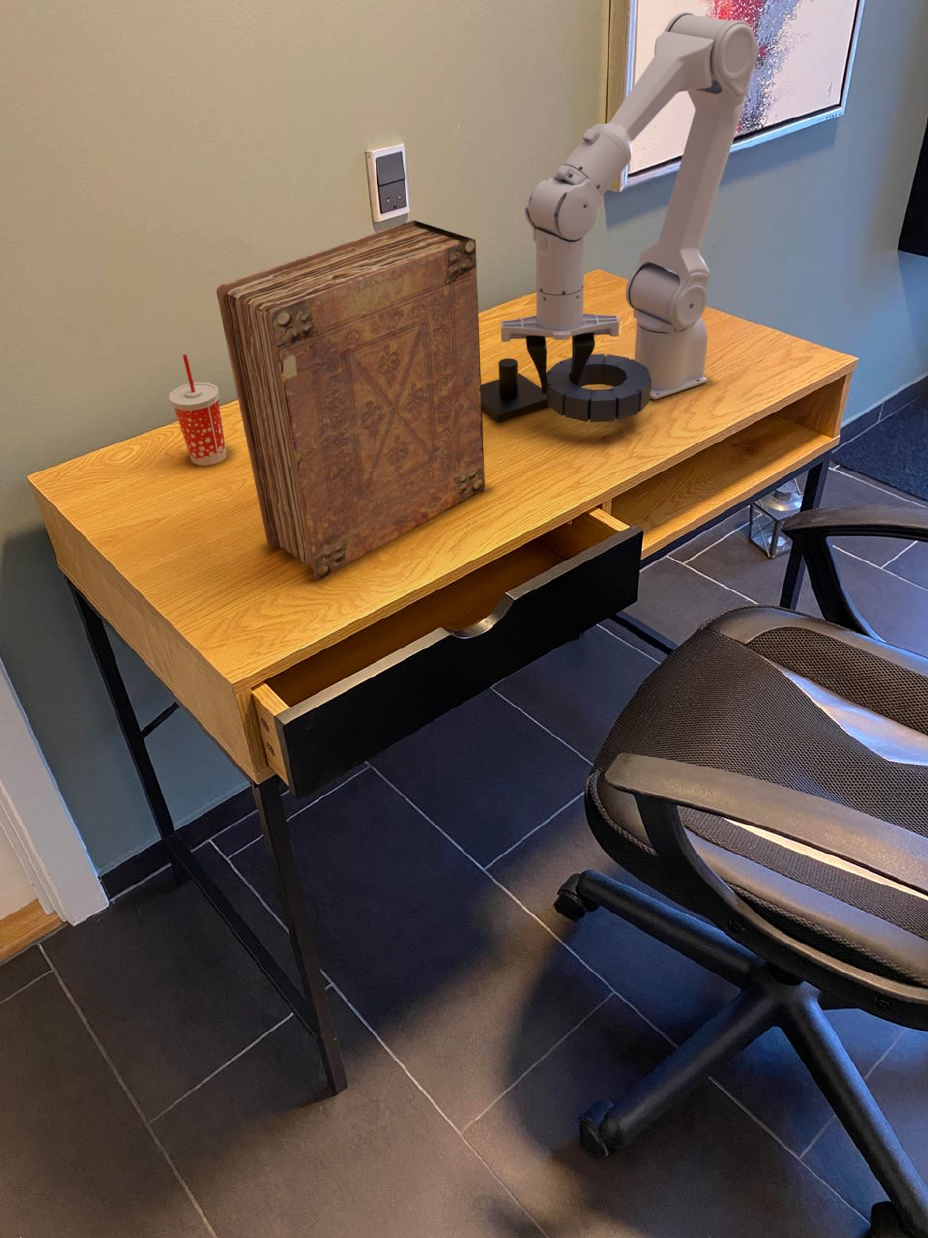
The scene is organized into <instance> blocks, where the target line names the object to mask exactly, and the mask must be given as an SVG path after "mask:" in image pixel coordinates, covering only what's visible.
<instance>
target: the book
mask: <svg viewBox="0 0 928 1238" xmlns="http://www.w3.org/2000/svg"><path fill="white" fill-rule="evenodd" d="M476 241H477V240H476V239H474V238H471V237H470V236H465V235H462V234H459V233H457V232H453V231H450V230H446V229H444V228H440V227H437V226H434V225H430V224H427V223H425V222H421V221H418V220H410V221H408V222H405V223H402V224H399V225H396V226H394V227H393V226H392V227H390V228H386V229H383V230H381V231H378V232H375V233H372V234H369V235H366V236H363V237H360V238H357V239H354V240H351V241H348V242H345V243H341V244H339V245H337V246H333V247H331V248H327V249H325V250H321V251H319V252H316V253H312V254H310V255H306V256H303V257H301V258H298V259H295V260H291V261H289V262H288V261H287V262H285V263H283V264H279V265H277V266H273V267H271V268H268V269H267V268H266V269H265V270H261V271H259V272H255V273H253V274H250V275H247V276H244V277H241V278H237V279H235V280H232V281H229V282H226V283H223V284H220V285H219V286H218V287H217V288H216V291H215V293H216V296H217V301H218V305H219V306H218V307H219V311H220V316H221V321H222V326H223V331H224V336H225V341H226V344H227V345H226V346H227V351H228V356H229V362H230V366H231V370H232V375H233V381H234V385H235V386H234V387H235V391H236V396H237V401H238V405H239V410H240V415H241V421H242V426H243V430H244V431H243V432H244V435H245V440H246V445H247V450H248V455H249V460H250V464H251V470H252V475H253V480H254V484H255V490H256V495H257V500H258V504H259V509H260V514H261V520H262V524H263V530H264V535H265V540H266V544H267V546H268V548H270V549H274V548H276V547H278V546H279V547H280V548H282V549H283V550H284V551H286V552H288V553H289V554H291V555H292V557H295V558H296V559H297V560H299V561H300V562H301V563H303V564H304V565H306V566H308V567H309V568H310V569H312V570H313V571H312V572H313V576H314V578H316V579H318V580H322V579H324V578H326V577H328V576H330V575H331V574H333V573H336V572H337V571H339V570H340V569H342V568H344V567H346V566H348V565H350V564H352V563H353V562H355V561H357V560H359V559H361V558H362V557H365V556H366V555H368V554H370V553H371V552H373V551H376V550H377V549H379V548H381V547H383V546H384V545H386V544H388V543H390V542H392V541H394V540H395V539H397V538H399V537H401V536H403V535H404V534H406V533H409V532H410V531H412V530H413V529H415V528H417V527H419V526H421V525H424V523H427V522H428V521H430V520H432V519H433V518H436V517H438V516H439V515H441V514H443V513H444V512H446V511H448V510H450V509H452V508H453V507H456V506H457V505H459V504H461V503H462V502H464V501H466V500H468V499H470V498H472V497H473V496H475V495H477V494H479V493H481V492H482V491H483V492H484V491H485V488H486V478H485V453H484V451H485V450H484V449H485V448H484V426H483V423H484V422H483V411H482V396H481V384H482V374H481V373H482V372H481V348H480V345H481V343H480V320H479V295H478V269H477V265H478V264H477V243H476Z"/></svg>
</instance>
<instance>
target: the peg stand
mask: <svg viewBox="0 0 928 1238" xmlns="http://www.w3.org/2000/svg"><path fill="white" fill-rule="evenodd" d="M481 396H482V412H483V413H485V414H486V415H487V416H489V417H490V418H492V420H494V421H496V423H498V424H499V423H502V422H504V421H508V420H511V419H514V418H517V417H521V416H523V415H526V414H527V415H528V414H529V413H533V412H535V411H539V410H541V409H544V408H549V405H547V398H546V394H542V389H541V386H539V385H537V383H535V382H534V381H532V380H530V379H529V378H527V377H526V376H524V375H523V374H521V373H520V372H519V362H518V360H517V359H516V358H510V357H509V358H508V357H507V358H502V359H500V360H499V361H498V379H494V380H492V381H488V382H485V383H481Z"/></svg>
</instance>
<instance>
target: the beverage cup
mask: <svg viewBox="0 0 928 1238" xmlns="http://www.w3.org/2000/svg"><path fill="white" fill-rule="evenodd" d="M182 359H183V363H184V366H185V367H184V368H185V371H186V375H187V379H188V383H186V384H183V385H180V386H178V387H176V388H174V389H173V390H172V391H171V392H170V393H169V395H168V396H169V397H168V400H169V402H170V406H171V407H173V408H174V412H175V415H176V418H177V421H178V424H179V428H180V431H181V434H182V436H183V439H184V442H185V445H186V449H187V451H188V455H189V457H190V461H191V462H192V463H193V464H195V465H197V466H213V465H216V464H218V463H220V462H223V461H224V460H225V459H226V457H227V455H228V453H227V446H226V441H225V440H226V439H225V434H224V428H223V422H222V414H221V407H220V402H219V400H220V392H219V391H220V390H219V389H220V388H219V387H218V386H217V385H216V384H213V383H212V382H211V383H210V382H206V381H205V382H202V381H198V382H194V380H193V376H192V371H191V367H190V364H189V359H188V355H187V354H182Z"/></svg>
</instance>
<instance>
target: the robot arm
mask: <svg viewBox="0 0 928 1238" xmlns="http://www.w3.org/2000/svg"><path fill="white" fill-rule="evenodd" d="M759 52H760V46H759V44H758V41H757V39H756V35H755V33H754V30H753V28H752V26H751V25H750V24H749V23H748V22H747V21H745V20H742V19H740V20H739V19H734V20H730V19H723V18H716V17H710V16H703V15H695V14H693V13H692V12H686V11H685V12H680V13H678V14H676V15H675V16H674V17H672V19H670V21H669V22H668V24H667V25H666V27H665V29H664V31H663V32H662V33H660V34H659V35H658V36H657V37H656V39H655V43H654V56H653V58H652V59H651V61H650V62H649V64H648V65H647V67H646V68H645V69H644V71H643V73H642V74H641V75H640V76H639V78H638V79H637V81H636V83H635V84H634V86H633V87H632V89H631V90H630V91H629V93H628V95H627V96H626V97H625V99H624V100H623V102H622V103H621V105H620V106H619V107H618V109H617V111H616V112H615V113H614V115H613V117H612V118H611V119H610V121H609V122H607V123H601V124H600V123H599V124H598V123H597V124H595V125H593V126H592V127H591V128H588V129H587V130H586V131H585V132H584V133H583V135H582V136H581V139H582V140H581V141H580V143H579V144H578V145H577V146H576V147H575V149H574V150H573V152H572V153H571V154H570V155H569V157H568V158H566V160H565V162H563V164H562V165H561V166H560V167H559V168H558V170H556V173H555V174H554V175H553V177H548V178H546V179H547V180H546V179H543V180H542V181H541V182H540V183H538V184H537V185H535V187H534V188H533V190H532V191H531V193H530V195H529V197H528V203H527V206H525V207H524V215H525V218H526V221H527V223H528V224H529V225H530V227H531V228H532V233H533V235H532V236H533V237H532V238H533V241H534V243H535V283H536V284H535V285H536V287H535V289H536V290H535V293H536V297H535V298H536V300H535V301H536V310H535V311H536V313H535V315H531V316H526V317H521V318H516V319H509V320H501V321H500V334H501V335H500V336H501V343H507V342H511V340H519V339H520V340H524V339H525V344H526V350H527V353H528V355H529V357H530V358H531V360H532V363H533V365H534V367H535V369H536V372H537V374H538V377H539V381H540V387H541V389H542V394H547V367H548V365H547V363H548V361H547V360H548V350H547V340H546V339H547V338H552V339H553V340H555V341H566V340H570V339H571V358H572V367H571V382H573V383H574V384H576V385H577V386H578V384H579V380H580V377H581V374H582V371H583V369H584V367H585V364H586V362H587V360H588V359H589V357H590V355H591V354H593V352H594V350H595V346H596V341H595V336H605V335H609V336H610V337H611V338H612V337H613V338H615V337H619V336H620V319H619V315H615V314H614V315H609V314H608V315H606V314H594V313H585V312H584V296H585V295H584V292H585V291H584V290H585V289H584V287H585V285H584V284H585V280H584V279H585V252H586V251H585V250H586V249H585V248H586V235H587V233H589V231H591V230H592V229H593V227H594V226H595V223H596V220H597V216H598V211H599V208H600V207H601V205H602V201H603V197H604V195H605V194H606V193H607V191H608V190H609V189H610V188H611V186H612V185H613V184H614V183H615V181H616V180H617V179H618V178H619V177H620V175H621V174H622V173H623V171H624V170H625V169H626V167H627V166H628V165H629V164H630V162H631V161H632V158H633V157H632V155H633V151H632V147H633V146H632V145H633V143H634V141H636V139H637V138H638V137H639V136H640V134H641V133H643V131H645V130H646V128H647V127H648V126H649V125H650V124H651V123H652V121H653V120H655V118H656V117H657V116H658V115H659V114H660V113H661V112H662V111H663V110H664V108H665V107H667V106H668V104H669V103H670V102H671V101H672V100H673V98H675V96H676V95H677V94H679V93H681V92H686V93H687V94H688V96H689V98H690V100H691V102H692V105H693V106H694V114H693V118H692V121H691V124H690V128H689V132H688V136H687V138H686V142H685V146H684V149H683V153H682V156H681V160H680V163H679V167H678V171H677V174H676V178H675V181H674V184H673V188H672V192H671V195H670V199H669V203H668V206H667V209H666V212H665V216H664V220H663V223H662V227H661V231H660V234H659V237H658V240H657V242H656V243H654V244H653V245H651V246H650V247H648V248H646V249H645V250H643V251H642V252H640V255H639V257H638V258H639V259H638V261H637V265H636V266H635V268H634V270H633V271H632V273H631V274H630V276H629V278H628V280H627V283H626V287H625V299H626V302H627V305H628V306H629V307H630V308H631V309H633V313H632V314H633V315H632V317H633V318H634V319H636V327H635V328H636V329H635V341H634V342H635V343H634V357H633V360H635V361H637V362H638V363H640V364H642V365H644V366H645V367H647V369H648V370H649V373H650V376H651V393H650V399H652V400H658V399H660V398H663V397H667V396H670V395H674V394H676V393H678V392H681V391H685V390H687V389H690V388H693V387H696V386H699V385H702V384H705V383H707V382H708V378H707V377H706V376H705V375H704V374H705V366H706V358H707V348H708V339H709V337H708V336H709V335H708V329H707V326H706V323H705V321H704V320H703V318H702V315H703V313H704V311H705V309H706V306H707V301H708V284H709V280H710V276H711V270H710V269H709V267H708V265H707V263H706V262H705V260H704V258H703V257H702V254H701V252H700V250H701V247H702V244H703V241H704V238H705V234H706V231H707V227H708V224H709V221H710V217H711V215H712V211H713V207H714V205H715V202H716V199H717V195H718V191H719V189H720V184H721V182H722V178H723V175H724V173H725V168H726V165H727V162H728V159H729V155H730V152H731V149H732V146H733V142H734V140H735V136H736V132H737V129H738V125H739V122H740V119H741V117H742V113H743V109H744V106H745V102H746V98H747V97H746V96H747V92H748V89H749V86H750V82H751V78H752V76H753V72H754V70H755V66H756V62H757V59H758V56H759Z"/></svg>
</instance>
